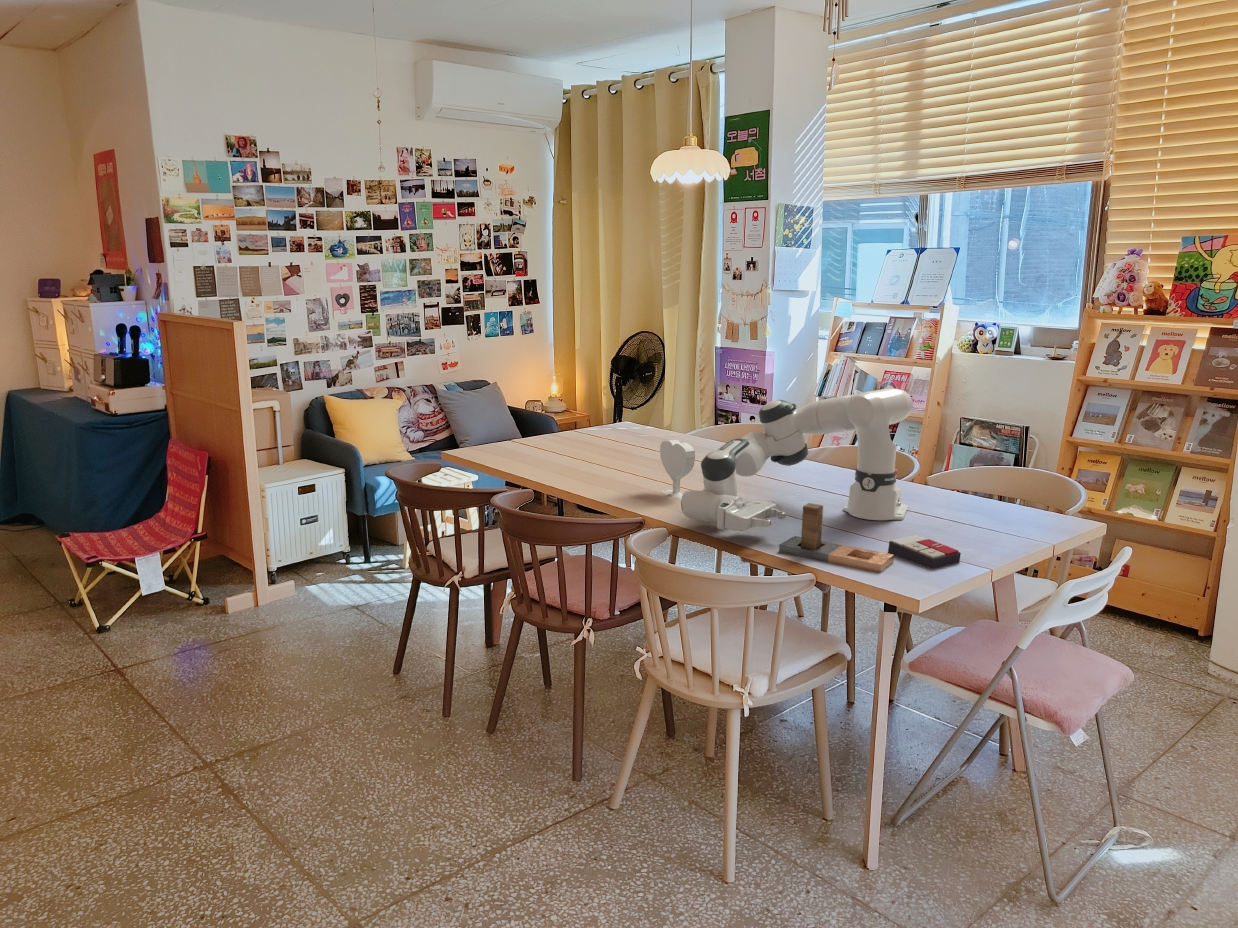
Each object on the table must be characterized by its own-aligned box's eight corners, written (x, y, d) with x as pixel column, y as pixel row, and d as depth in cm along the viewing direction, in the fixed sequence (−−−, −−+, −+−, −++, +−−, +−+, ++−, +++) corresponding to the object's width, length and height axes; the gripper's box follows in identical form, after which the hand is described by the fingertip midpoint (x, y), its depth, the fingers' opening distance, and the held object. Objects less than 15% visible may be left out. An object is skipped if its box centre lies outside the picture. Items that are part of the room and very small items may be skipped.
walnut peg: (806, 548, 248) (809, 502, 245) (820, 551, 245) (823, 505, 243) (800, 552, 244) (803, 506, 242) (814, 555, 242) (817, 508, 239)
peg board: (794, 542, 253) (794, 535, 252) (893, 561, 237) (894, 554, 237) (778, 551, 245) (779, 544, 244) (880, 572, 229) (881, 564, 229)
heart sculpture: (695, 498, 298) (697, 445, 294) (683, 500, 296) (684, 446, 292) (669, 488, 311) (670, 437, 307) (657, 490, 309) (658, 438, 305)
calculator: (933, 556, 232) (888, 538, 244) (931, 572, 233) (886, 553, 245) (962, 550, 237) (916, 532, 249) (959, 565, 238) (914, 547, 251)
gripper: (748, 514, 265) (792, 522, 258) (714, 530, 249) (760, 539, 241) (749, 493, 264) (793, 500, 256) (715, 508, 247) (761, 516, 240)
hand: (777, 519), depth 249 cm, fingers open, 8 cm apart
